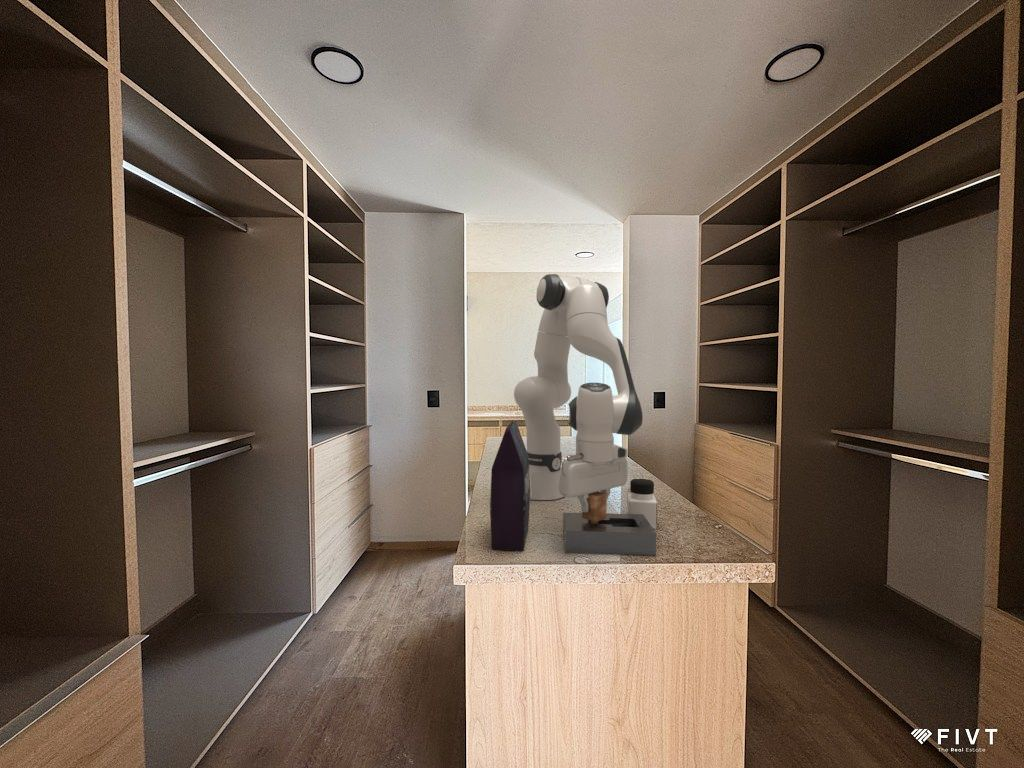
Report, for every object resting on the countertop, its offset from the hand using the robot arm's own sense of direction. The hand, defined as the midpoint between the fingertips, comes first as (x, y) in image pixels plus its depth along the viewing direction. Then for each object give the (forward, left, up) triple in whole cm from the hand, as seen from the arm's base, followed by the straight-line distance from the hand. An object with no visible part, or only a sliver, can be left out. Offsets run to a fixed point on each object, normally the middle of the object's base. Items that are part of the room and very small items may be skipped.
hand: (594, 509), depth 107 cm
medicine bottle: (0, +20, -8) cm, 22 cm away
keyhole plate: (+2, +2, -8) cm, 9 cm away
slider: (0, 0, -8) cm, 8 cm away
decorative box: (-15, -13, -8) cm, 21 cm away
